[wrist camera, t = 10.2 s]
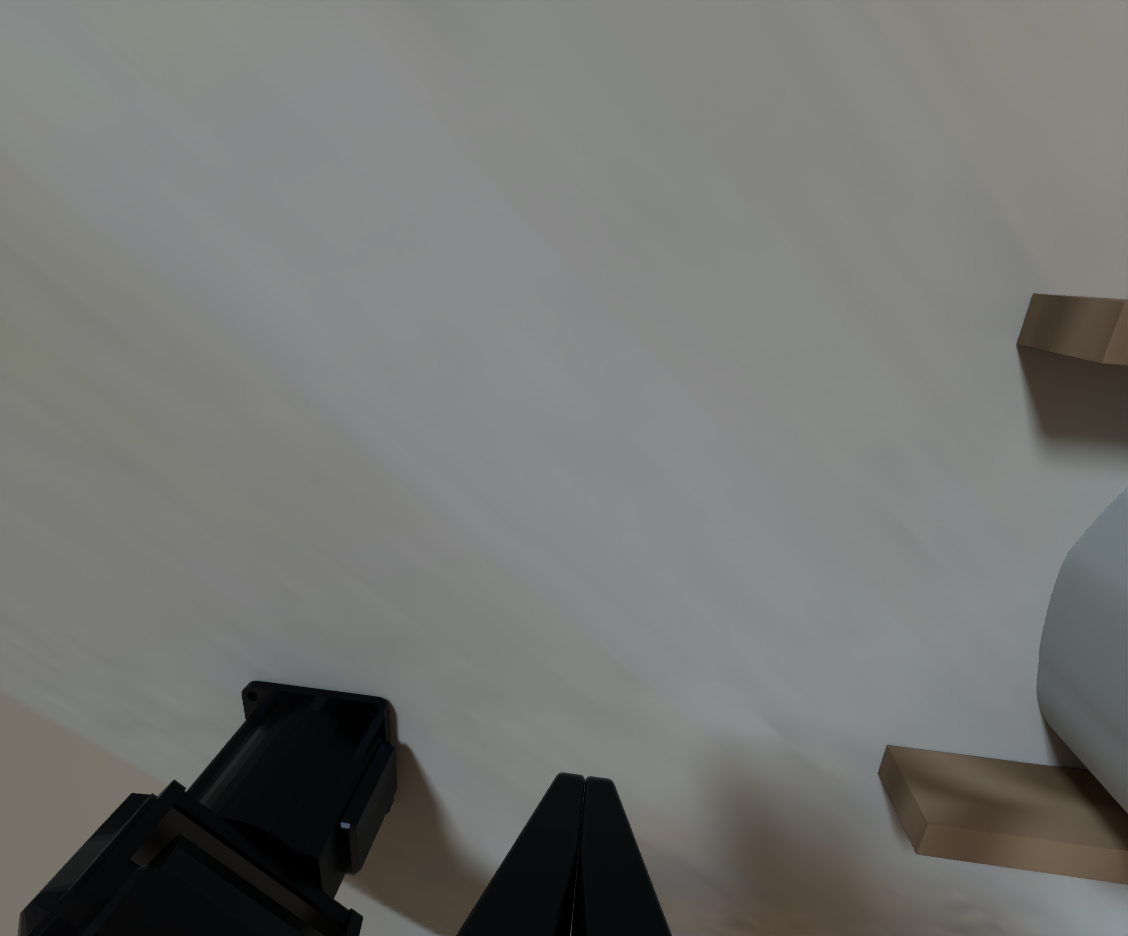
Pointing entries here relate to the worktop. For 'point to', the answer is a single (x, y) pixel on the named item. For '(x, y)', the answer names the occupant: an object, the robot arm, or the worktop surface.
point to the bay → (1007, 788)
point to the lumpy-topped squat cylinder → (1091, 651)
